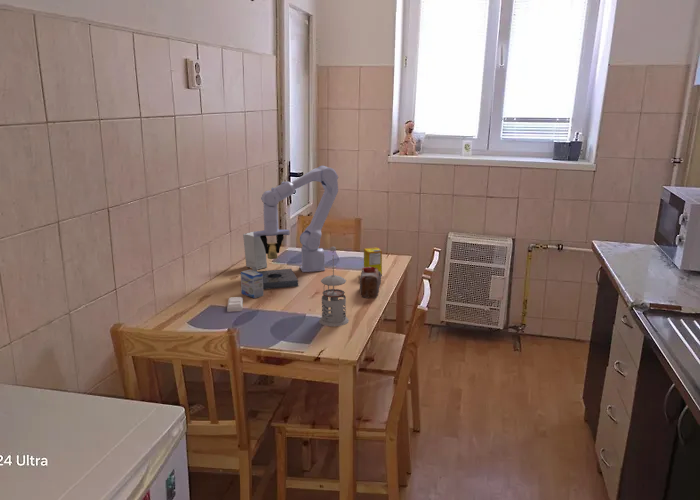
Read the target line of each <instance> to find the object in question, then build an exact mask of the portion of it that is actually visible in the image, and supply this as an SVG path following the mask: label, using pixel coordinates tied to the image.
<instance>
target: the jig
mask: <svg viewBox="0 0 700 500" xmlns="http://www.w3.org/2000/svg"><path fill="white" fill-rule="evenodd" d="M251 270H252V271H255V272H258V273H261V274H263V290H273V289H282V288H284V289H285V288H294V287H299V280H298V277H297V275H296V274H295V272H294V270H293V269H292V268H283V269H282V268H281V269H271V270H269V269H268V270H257V269H256V267H252V268H251Z"/></svg>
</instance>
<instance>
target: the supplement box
mask: <svg viewBox="0 0 700 500" xmlns="http://www.w3.org/2000/svg"><path fill="white" fill-rule="evenodd" d="M382 261H383V251H382V250H381V248H379V247H376V246H375V247H366V248H363V268H364V267H374V268H377V269H378V271H380V272H381V277H382V276H383V275H382V274H383V273H382V272H383V265H382V264H383V262H382Z"/></svg>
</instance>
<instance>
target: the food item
mask: <svg viewBox="0 0 700 500" xmlns="http://www.w3.org/2000/svg"><path fill="white" fill-rule="evenodd" d="M361 269H362V270H361V272H360V278H359V293H360V294H359V295H360V296H361V298H364V299H365V298H366V299H367V298H368V299H371V298H372V299H376V298H378V296H379V292H380V291H379V290H380V287H381V284H382V276H381V272H380V271H378V269H377V268H374V267H364V266H363V267H362V268H361Z"/></svg>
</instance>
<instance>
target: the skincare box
mask: <svg viewBox="0 0 700 500" xmlns="http://www.w3.org/2000/svg"><path fill="white" fill-rule="evenodd" d="M253 232H254V231H251V232H247V233H243V234H242V237H243V238H242V239H243V248H244V257H245V259H244V260H245V267H246V268H251V269H252V267H256V269H257V271H259V270H260V269H261V270H262V269H265V268H267V267H268V262H267V254H266V252H265V247H264V244H263V242H262V240H261V238H260V237H254V235H253Z"/></svg>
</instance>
